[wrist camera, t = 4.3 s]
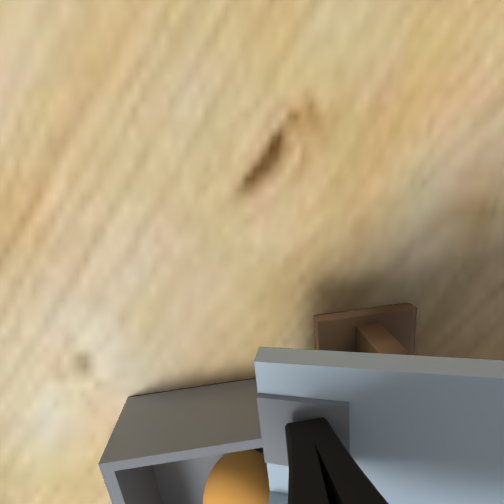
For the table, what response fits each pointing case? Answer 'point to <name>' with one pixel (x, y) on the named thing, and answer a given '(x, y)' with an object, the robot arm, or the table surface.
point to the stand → (368, 330)
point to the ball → (238, 479)
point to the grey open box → (178, 441)
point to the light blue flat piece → (391, 420)
